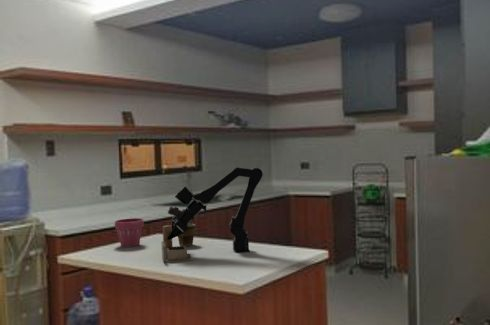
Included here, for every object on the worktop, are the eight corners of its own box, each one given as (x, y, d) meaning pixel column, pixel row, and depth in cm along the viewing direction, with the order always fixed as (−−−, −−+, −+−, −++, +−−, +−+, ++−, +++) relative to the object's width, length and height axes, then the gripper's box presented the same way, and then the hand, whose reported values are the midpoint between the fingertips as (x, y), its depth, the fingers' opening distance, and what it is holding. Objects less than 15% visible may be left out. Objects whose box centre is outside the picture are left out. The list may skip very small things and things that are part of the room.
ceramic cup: (185, 242, 246) (184, 223, 246) (200, 244, 240) (199, 224, 240) (167, 247, 235) (166, 226, 235) (182, 249, 230) (181, 228, 229)
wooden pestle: (172, 253, 220) (171, 225, 219) (173, 255, 216) (172, 226, 215) (163, 254, 219) (162, 225, 218) (164, 256, 215) (163, 227, 215)
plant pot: (110, 245, 244) (109, 220, 244) (135, 241, 254) (134, 217, 253) (124, 249, 234) (123, 222, 233) (149, 244, 243) (148, 219, 243)
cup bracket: (189, 255, 215) (188, 239, 215) (192, 260, 204) (191, 244, 203) (162, 257, 213) (161, 241, 212) (163, 263, 201) (163, 246, 201)
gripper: (176, 198, 227) (153, 222, 225) (180, 202, 209) (154, 228, 207) (193, 214, 229) (170, 238, 227) (198, 219, 211) (173, 245, 208)
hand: (167, 237), depth 217 cm, fingers open, 9 cm apart
